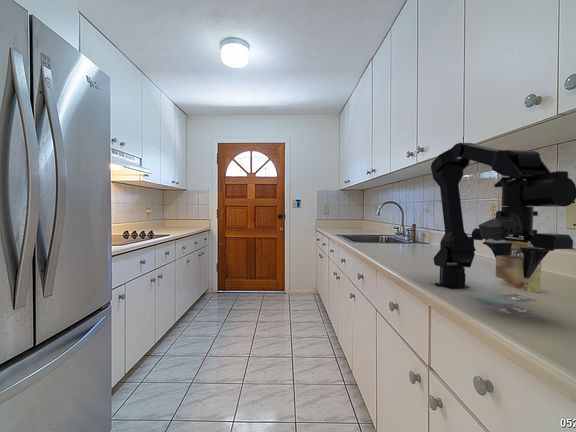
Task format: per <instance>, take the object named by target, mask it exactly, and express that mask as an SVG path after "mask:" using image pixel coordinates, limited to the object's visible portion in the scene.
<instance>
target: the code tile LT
mask: <svg viewBox="0 0 576 432" xmlns="http://www.w3.org/2000/svg"><path fill="white" fill-rule="evenodd" d="M483 307H485V308H488V309H490V310H492V311H493V310H494V311H496V312H498V313H501V314H503V315H506V316H509V317H511V318H514V319H522V318H523V319H524V318H533V317H543V316H544V314H542V313H539V312H536V311H533V310H530V309H527V308H524V307H520V306H518V305H515V304H513V303H500V304H490V305H483Z"/></svg>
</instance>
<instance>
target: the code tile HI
mask: <svg viewBox="0 0 576 432" xmlns="http://www.w3.org/2000/svg"><path fill="white" fill-rule="evenodd" d="M497 296H499V297H501V298H504V299H508V300H511V301H515V302H518V303H529V302H530V303H531V302H538V301H539V300H537V299H534V298H531V297H527V296H523V295H521V294H517V293H511V294H509V293H508V294H498V295H497Z"/></svg>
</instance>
